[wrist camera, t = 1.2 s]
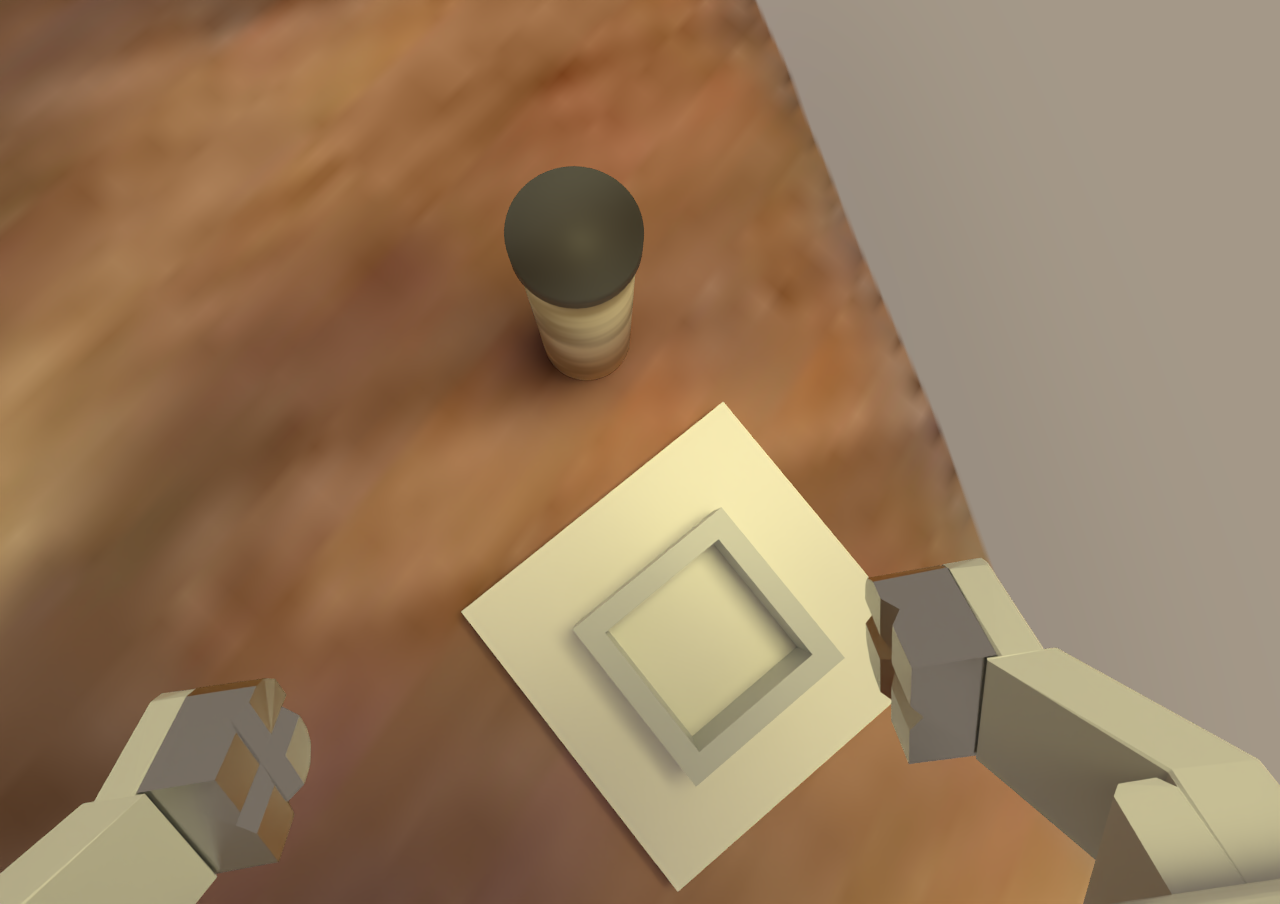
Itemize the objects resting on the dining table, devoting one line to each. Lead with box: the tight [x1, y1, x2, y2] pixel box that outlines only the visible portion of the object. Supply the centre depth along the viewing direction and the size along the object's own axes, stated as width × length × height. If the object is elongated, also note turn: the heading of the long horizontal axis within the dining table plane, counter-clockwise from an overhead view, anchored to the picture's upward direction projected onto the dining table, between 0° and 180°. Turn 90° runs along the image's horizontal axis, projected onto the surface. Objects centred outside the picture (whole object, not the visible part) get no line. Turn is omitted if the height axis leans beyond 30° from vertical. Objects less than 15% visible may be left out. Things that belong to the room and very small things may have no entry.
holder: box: [462, 402, 891, 891], centre depth 37 cm, size 16×16×4 cm
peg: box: [504, 166, 644, 380], centre depth 34 cm, size 5×5×13 cm
